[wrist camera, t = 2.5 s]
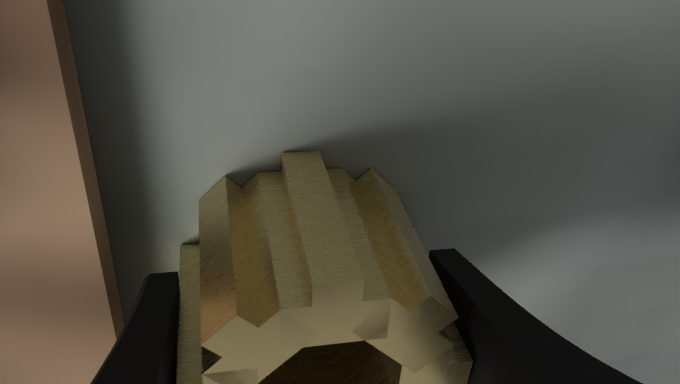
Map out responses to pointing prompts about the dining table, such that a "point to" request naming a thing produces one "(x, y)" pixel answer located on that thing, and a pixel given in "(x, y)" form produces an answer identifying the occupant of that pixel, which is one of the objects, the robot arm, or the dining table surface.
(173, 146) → the dining table surface
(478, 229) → the dining table surface
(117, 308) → the gear board
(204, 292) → the brass gear
